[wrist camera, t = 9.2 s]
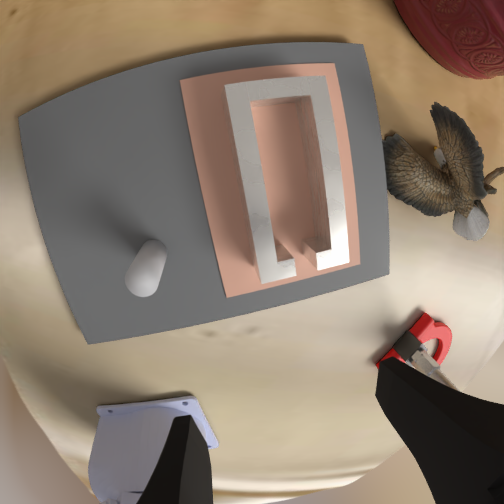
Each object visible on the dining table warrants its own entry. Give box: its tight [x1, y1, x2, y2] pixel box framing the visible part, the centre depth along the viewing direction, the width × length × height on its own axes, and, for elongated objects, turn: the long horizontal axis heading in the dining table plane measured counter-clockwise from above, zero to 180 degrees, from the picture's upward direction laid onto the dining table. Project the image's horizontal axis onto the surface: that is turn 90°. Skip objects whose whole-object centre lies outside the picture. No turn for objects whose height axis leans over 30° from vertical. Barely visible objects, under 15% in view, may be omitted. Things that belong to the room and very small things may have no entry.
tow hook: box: [376, 313, 459, 391], centre depth 19 cm, size 8×13×9 cm
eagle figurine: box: [382, 102, 504, 241], centre depth 16 cm, size 8×7×9 cm
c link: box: [221, 76, 349, 284], centre depth 15 cm, size 5×10×2 cm, turn 10°
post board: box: [18, 42, 389, 344], centre depth 14 cm, size 22×16×5 cm
